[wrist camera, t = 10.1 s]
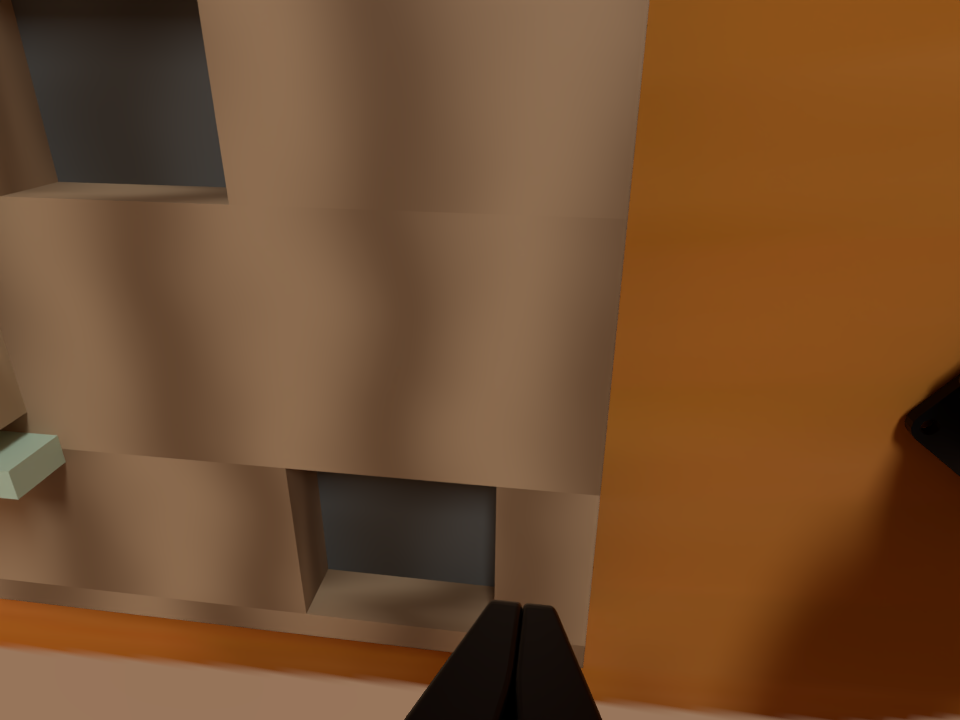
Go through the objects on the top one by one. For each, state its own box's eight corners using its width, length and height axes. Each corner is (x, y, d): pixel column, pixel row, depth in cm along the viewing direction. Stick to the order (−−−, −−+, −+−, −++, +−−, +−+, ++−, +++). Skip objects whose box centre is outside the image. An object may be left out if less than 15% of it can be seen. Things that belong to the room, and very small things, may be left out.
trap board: (651, -115, 15) (663, -145, 13) (582, 611, 24) (583, 667, 22) (-255, -92, 18) (-376, -113, 16) (-6, 546, 27) (-59, 591, 25)
